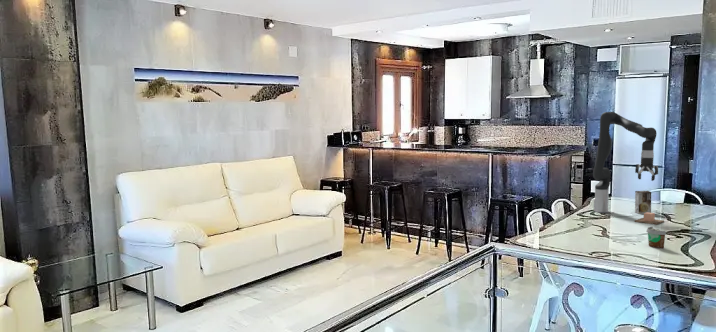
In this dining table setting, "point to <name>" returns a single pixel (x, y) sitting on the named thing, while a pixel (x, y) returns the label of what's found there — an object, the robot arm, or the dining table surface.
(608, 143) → the robot arm
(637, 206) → the coffee box
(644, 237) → the dining table surface
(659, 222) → the walnut board
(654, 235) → the food container
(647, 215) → the terracotta cube
